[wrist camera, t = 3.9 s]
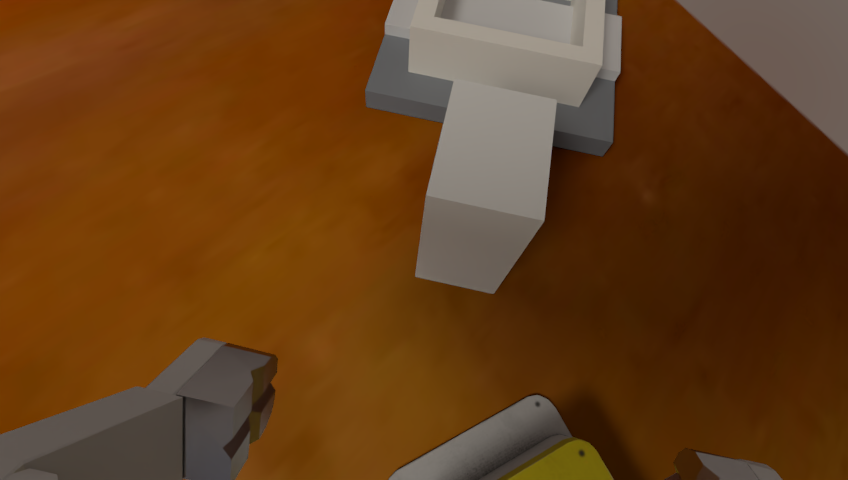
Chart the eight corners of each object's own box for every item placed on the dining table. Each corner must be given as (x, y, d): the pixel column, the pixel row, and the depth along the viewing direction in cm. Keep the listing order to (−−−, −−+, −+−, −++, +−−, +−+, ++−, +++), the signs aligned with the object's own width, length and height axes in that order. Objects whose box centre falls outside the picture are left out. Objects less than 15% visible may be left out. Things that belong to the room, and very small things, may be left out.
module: (507, 203, 27) (558, 100, 19) (494, 294, 24) (545, 221, 16) (434, 187, 27) (453, 78, 19) (414, 276, 24) (424, 195, 16)
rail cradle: (609, -2, 35) (641, -67, 31) (602, 156, 29) (641, 103, 24) (417, -41, 36) (420, -110, 31) (366, 106, 29) (361, 45, 25)
